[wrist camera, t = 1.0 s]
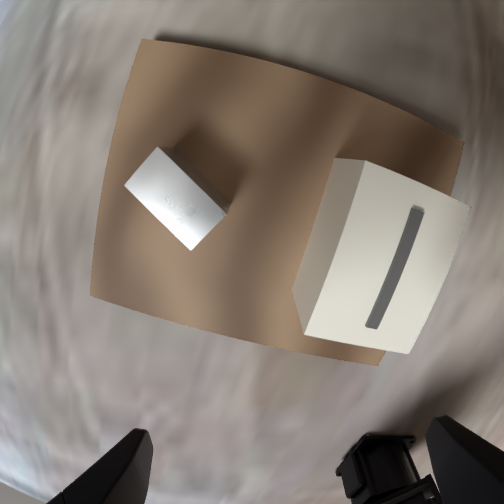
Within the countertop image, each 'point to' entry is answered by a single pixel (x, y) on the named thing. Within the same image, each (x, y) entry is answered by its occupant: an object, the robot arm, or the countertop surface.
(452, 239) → the white slotted box
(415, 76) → the countertop surface
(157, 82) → the base board
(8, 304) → the countertop surface
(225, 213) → the white wooden block
